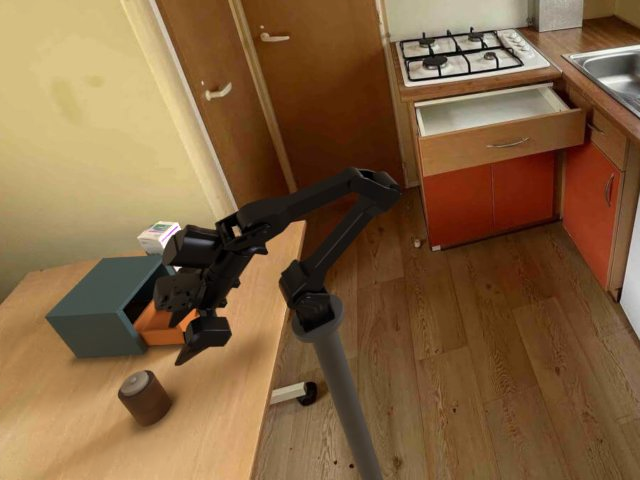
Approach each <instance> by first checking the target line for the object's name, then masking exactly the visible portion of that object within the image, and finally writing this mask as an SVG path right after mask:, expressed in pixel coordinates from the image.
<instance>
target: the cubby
mask: <svg viewBox="0 0 640 480" xmlns="http://www.w3.org/2000/svg"><path fill="white" fill-rule="evenodd" d="M170 275H175V273H174V271H173V269H172V267H171V266H164V265H163V264H162V255H152V256H147V255H134V256H117V257H116V256H113V257H102V259H100V260H99V261H98V262H97V264H95V265H94V266H93V267H92V268H91V269H90V270H89V271H88V272H87V274H85V275H84V276H83V277H82V279H80V280H79V281H78V283H76V284H75V286H74V287H72V288H71V289H70V290H69V292H67V293H66V294H65V295H64V297H62V299H60V301H58V303H56V304H55V305H54V306H53V308H51V309H50V310H49V312H47V313H46V315H45V316H44V319H45V320H46V321H47V322H48V324H49V325H50V326H51V327H52V329H53V330H54V331H55V332H56V334H57V335H58V336H59V338H60V339H61V340H62V341H63V342H64V343H65V345H66V347H68V348H69V350H70V351H71V353H73V355H74V356H75V357H76V359H80V360H81V359H94V358H109V357H110V358H111V357H112V358H113V357H124V356H125V357H126V356H141V355H146V352H147V351H148V350H149V348H148V346H146V345H145V343H144V342H143V340H142V339H141V337H140V336H139V334H138V333H137V331H136V330H135V328H134V327H133V323H132V322H131V320H130V319H129V317H128V316H127V315H126V313H125V312H124V310H125V309H126V308H127V307H128V305H130V303H140V302H141V303H142V302H151V301H152V299H153V294H154V289H155V284H156V280H157V279H158V278H160V277H164V276H170Z"/></svg>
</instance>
